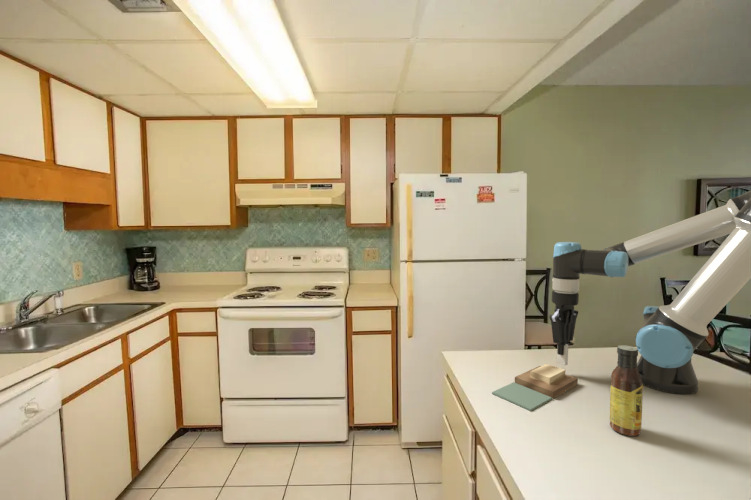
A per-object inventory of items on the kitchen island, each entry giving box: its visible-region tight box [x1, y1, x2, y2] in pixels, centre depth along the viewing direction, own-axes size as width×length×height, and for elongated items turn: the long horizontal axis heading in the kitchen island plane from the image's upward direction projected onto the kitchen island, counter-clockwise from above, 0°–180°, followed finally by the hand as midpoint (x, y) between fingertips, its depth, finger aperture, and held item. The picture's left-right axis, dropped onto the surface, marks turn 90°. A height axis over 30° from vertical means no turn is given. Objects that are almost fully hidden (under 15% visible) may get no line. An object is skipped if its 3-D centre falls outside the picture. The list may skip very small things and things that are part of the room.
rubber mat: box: [491, 381, 553, 412], centre depth 103 cm, size 12×10×1 cm
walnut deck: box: [514, 365, 579, 400], centre depth 110 cm, size 12×14×2 cm
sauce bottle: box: [609, 345, 644, 437], centre depth 85 cm, size 7×6×20 cm
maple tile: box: [530, 363, 566, 384], centre depth 111 cm, size 6×9×2 cm, turn 125°
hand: (562, 363), depth 116 cm, fingers closed
